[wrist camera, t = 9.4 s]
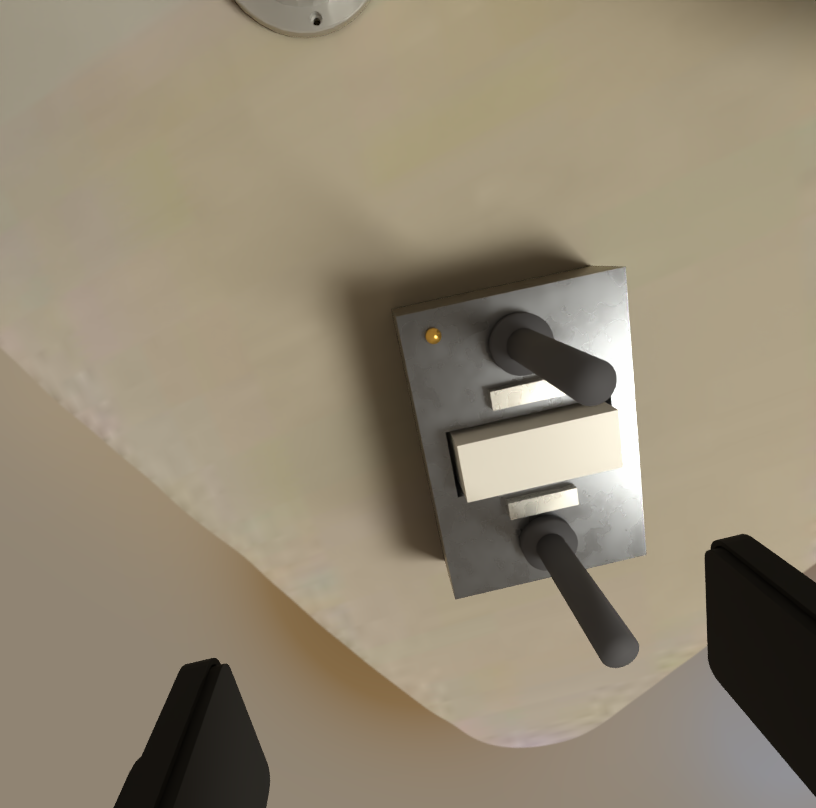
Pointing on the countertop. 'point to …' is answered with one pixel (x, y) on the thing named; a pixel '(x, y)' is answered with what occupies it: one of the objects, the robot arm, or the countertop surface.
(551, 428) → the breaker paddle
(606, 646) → the black toggle lever
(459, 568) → the gray switch control box
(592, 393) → the dark grey upright post
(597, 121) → the countertop surface
